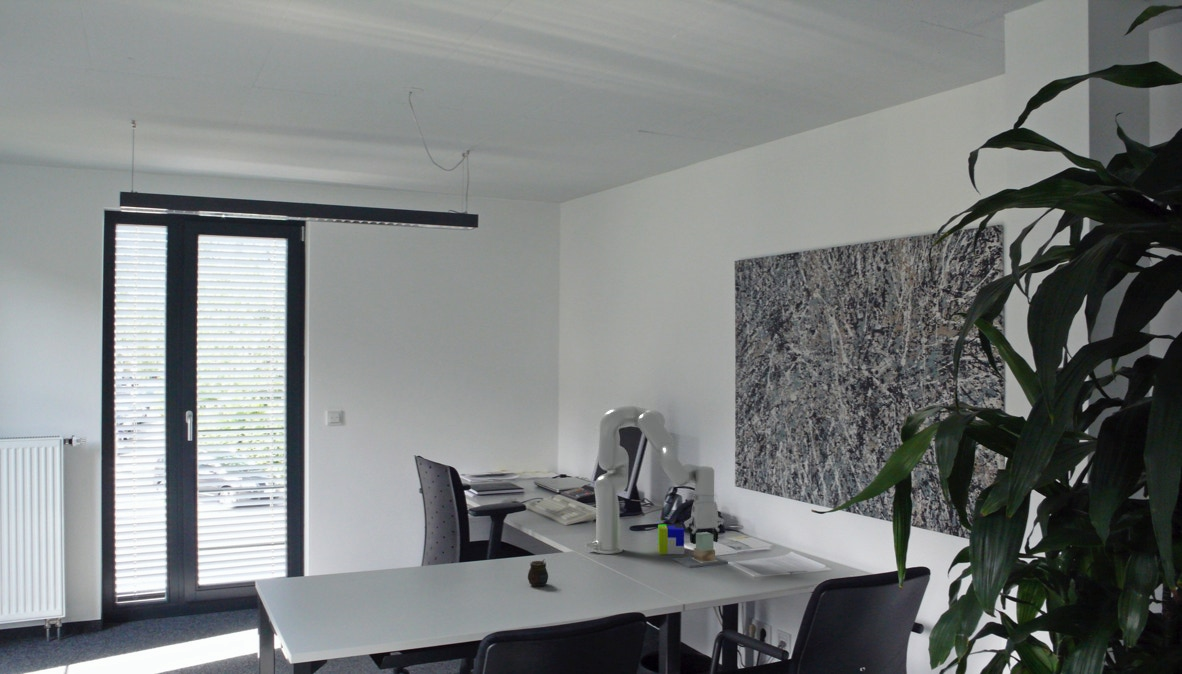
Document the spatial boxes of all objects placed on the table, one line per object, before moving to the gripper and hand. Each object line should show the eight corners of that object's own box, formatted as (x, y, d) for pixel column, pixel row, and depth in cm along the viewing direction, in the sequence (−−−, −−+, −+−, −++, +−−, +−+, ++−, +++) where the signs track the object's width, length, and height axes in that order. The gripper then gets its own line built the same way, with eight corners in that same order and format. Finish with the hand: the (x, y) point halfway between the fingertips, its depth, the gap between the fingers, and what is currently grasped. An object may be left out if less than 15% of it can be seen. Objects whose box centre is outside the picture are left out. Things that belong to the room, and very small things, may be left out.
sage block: (702, 551, 339) (702, 535, 339) (695, 548, 344) (695, 533, 344) (713, 550, 341) (713, 534, 341) (707, 547, 345) (707, 532, 346)
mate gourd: (538, 581, 314) (539, 553, 314) (553, 585, 308) (553, 557, 308) (523, 584, 308) (524, 556, 309) (537, 589, 303) (538, 560, 303)
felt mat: (689, 567, 333) (689, 565, 333) (674, 560, 344) (674, 558, 344) (728, 563, 339) (728, 561, 339) (712, 556, 350) (712, 554, 350)
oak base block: (701, 561, 338) (701, 551, 338) (694, 558, 344) (694, 548, 344) (715, 560, 340) (715, 550, 341) (707, 557, 346) (707, 546, 346)
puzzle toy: (684, 554, 355) (684, 529, 355) (659, 554, 355) (659, 529, 355) (682, 548, 365) (682, 524, 365) (658, 548, 365) (658, 524, 365)
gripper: (689, 501, 336) (689, 546, 336) (728, 498, 342) (728, 542, 342) (680, 498, 343) (679, 542, 343) (718, 495, 349) (718, 538, 349)
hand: (704, 542), depth 342 cm, fingers open, 9 cm apart
